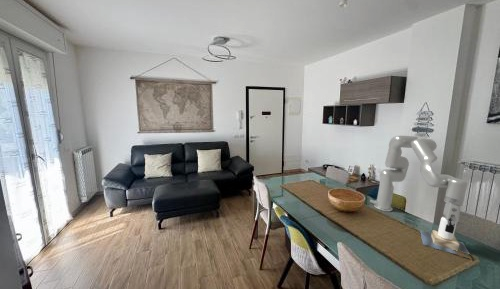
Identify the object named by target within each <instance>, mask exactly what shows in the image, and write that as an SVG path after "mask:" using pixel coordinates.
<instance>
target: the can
mask: <svg viewBox="0 0 500 289" xmlns="http://www.w3.org/2000/svg"><path fill="white" fill-rule="evenodd" d="M449 220H450V219H449ZM449 223H450V222H449ZM446 224H447V220H446V218H445V217H444V215H442V217H441V218H440V222H439V225H438V229H437V230H438V236H440V237H441V238H443V239H446V240H452V239H453V236H455V231H456V227H457V223H456V222H455V227H454V231H453V233H449V232H446V231H445V229H446Z"/></svg>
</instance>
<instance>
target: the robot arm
mask: <svg viewBox="0 0 500 289" xmlns="http://www.w3.org/2000/svg"><path fill="white" fill-rule="evenodd" d="M437 146H438V145H437V142H436V141H435V140H433V139H431V138H427V137H426V138H425V137H421V136H415V135H414V136H413V135H396V136H393V137H391V138H390V140H389V143H388V151H387V154H386V156H385V157H386V158H385V162H384V164H385V166H386V169H382V170H381V171H380V172H379V186H378V192H377V197H376V200H373V199H370V200H369V202H370V203H372V204H373V207H374V208H376V209H378V210H380V211H383V212H392V211H393V208H392V207H391V206H392V200H393V195H394V190H395V189H394V188H395V187H394V184H393V183H394V182H395V183H400V182H403V181H404V180H405V179H406V177H407V174H408V169H409V166H410V165H409V164H410V163H409V160H408V158H407V157H405V156H402V153H403V151H402V148H404V149H405V148H408V149H412V150H413V152H414V153H415V155H416V156H417V158H418V160H419V161H420V168H419V169H420V175H421V176H422V178H423V180H424V181H425V183H427V185H428V186H430V187H431V188H445V189H446V190H445V196H444V199H443V201H444V202H445V204H444V208H443V213H442V214H443V215H444V217H445V218H446V220H447V224H446V229H445V231H446V232H449V233H453V231H454V227H455V222H456V224H458V223H459V220H460V214H461V207H462V206H463V204H464V201H465V196H466V194H467V188H468V186H469V185H468V182H467V181H466V180H465V179H461V178H457V177H454V176H452V175H450V174H441V173H439V174H437V173H436V172H435V171H434V169H433V167H432V164H433V163H434V162H436V161H437V159H438V156H437V155H436V154H435V152H434V151H435V150H436V149H437ZM387 168H388V169H387ZM443 215H442V216H443ZM449 219H450V220H449ZM449 222H450V223H449Z"/></svg>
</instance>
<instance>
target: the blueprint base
mask: <svg viewBox="0 0 500 289" xmlns="http://www.w3.org/2000/svg"><path fill="white" fill-rule="evenodd" d="M420 233H421V234H420ZM419 234H420V237H421V240H422V245H423V246H425V247H428V248H432V249H434V248H435V250H437V249H439V250H438V251H440V250H443V251H446V252H445V253H447V252H450V253H454V254H457V252H455V251H453V250H456V251H458V249H460V250H461V251H463V252H465V253H468V254H470V255H471V253H470V252H469V250H468V249H467V246H466V245H465V244H464V242H462V241H459V240H458V239H457V238H456V236H455V235H454V236H453V239H452V240H446V239H443V238H441V237H440V236H438V231H437V230H435V229H432V230H431V232H428V231H426V230H425V231H424V230H422V229H420V230H419ZM443 251H442V252H443ZM450 253H449V254H450ZM459 255H460V254H459Z"/></svg>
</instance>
